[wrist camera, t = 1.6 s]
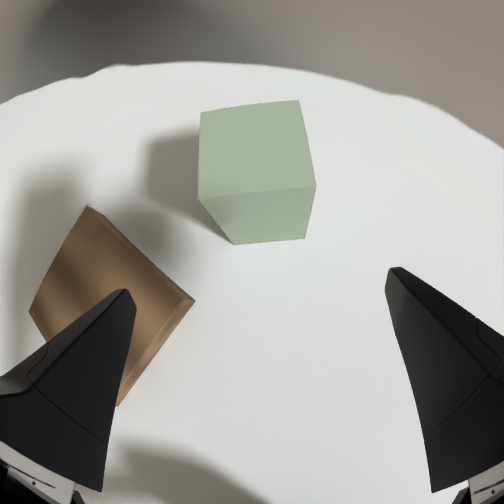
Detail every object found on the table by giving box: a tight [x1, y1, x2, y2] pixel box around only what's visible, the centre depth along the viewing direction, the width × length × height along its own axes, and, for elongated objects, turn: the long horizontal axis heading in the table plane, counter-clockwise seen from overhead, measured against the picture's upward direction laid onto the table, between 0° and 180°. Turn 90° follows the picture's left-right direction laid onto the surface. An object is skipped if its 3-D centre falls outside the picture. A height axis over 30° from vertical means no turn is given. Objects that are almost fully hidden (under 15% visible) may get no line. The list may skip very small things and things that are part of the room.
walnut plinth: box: [29, 206, 195, 407], centre depth 22 cm, size 14×14×3 cm
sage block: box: [198, 100, 316, 245], centre depth 19 cm, size 6×6×10 cm
